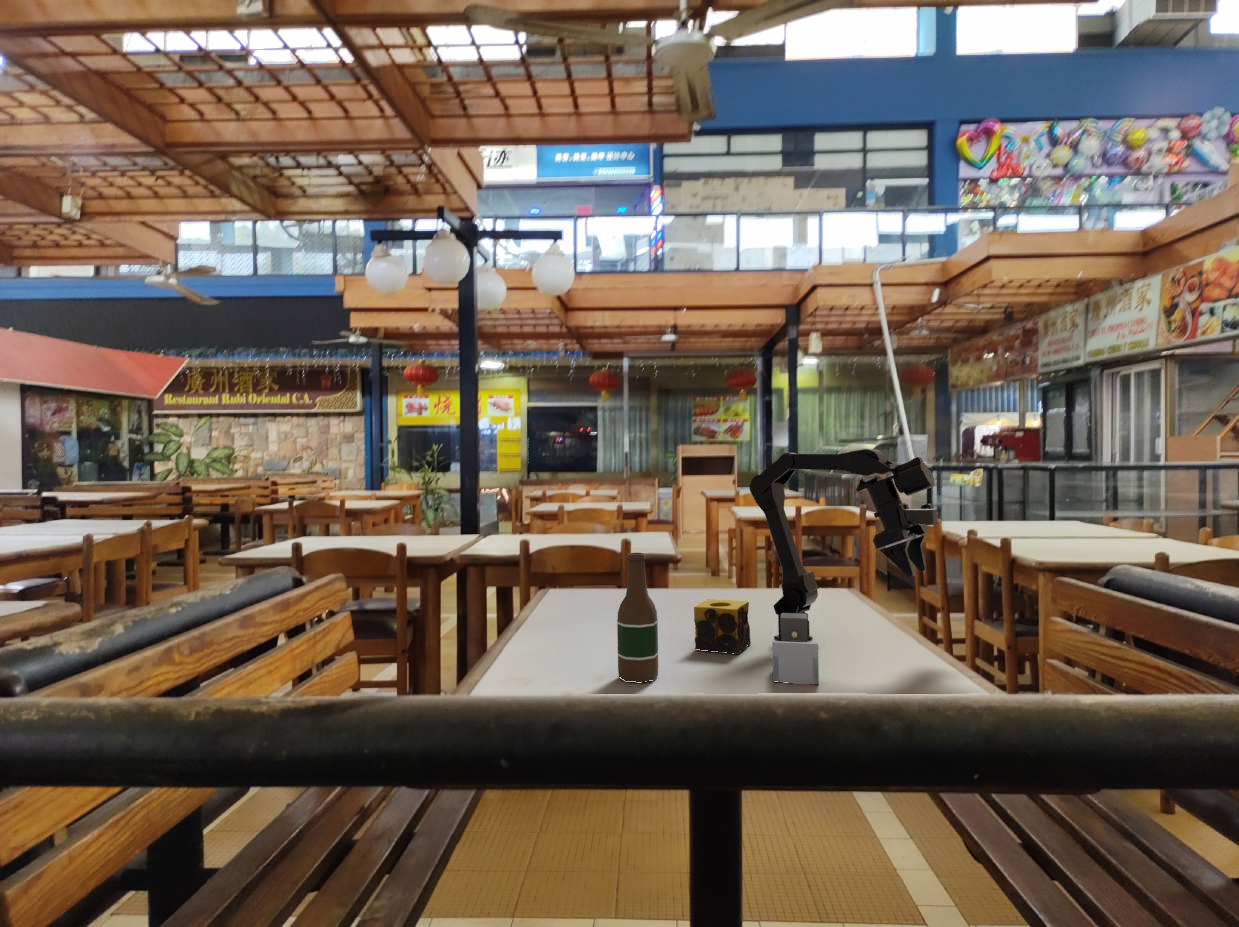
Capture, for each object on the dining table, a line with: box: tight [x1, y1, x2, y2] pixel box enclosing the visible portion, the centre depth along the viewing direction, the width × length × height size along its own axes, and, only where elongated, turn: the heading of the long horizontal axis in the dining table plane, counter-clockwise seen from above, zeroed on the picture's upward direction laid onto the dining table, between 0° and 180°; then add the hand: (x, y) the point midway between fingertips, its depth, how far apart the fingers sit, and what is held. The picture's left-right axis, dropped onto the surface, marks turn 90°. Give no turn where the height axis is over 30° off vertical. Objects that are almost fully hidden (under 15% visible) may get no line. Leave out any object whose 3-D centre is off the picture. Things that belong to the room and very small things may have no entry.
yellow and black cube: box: [693, 598, 751, 655], centre depth 160 cm, size 10×10×10 cm
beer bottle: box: [616, 552, 659, 682], centre depth 138 cm, size 8×8×24 cm
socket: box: [772, 640, 820, 685], centre depth 137 cm, size 9×8×8 cm
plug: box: [781, 613, 809, 642], centre depth 144 cm, size 6×5×10 cm
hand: (917, 573), depth 150 cm, fingers open, 9 cm apart
